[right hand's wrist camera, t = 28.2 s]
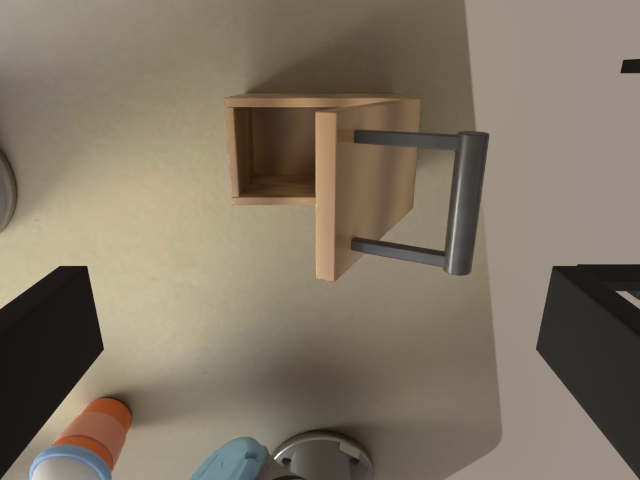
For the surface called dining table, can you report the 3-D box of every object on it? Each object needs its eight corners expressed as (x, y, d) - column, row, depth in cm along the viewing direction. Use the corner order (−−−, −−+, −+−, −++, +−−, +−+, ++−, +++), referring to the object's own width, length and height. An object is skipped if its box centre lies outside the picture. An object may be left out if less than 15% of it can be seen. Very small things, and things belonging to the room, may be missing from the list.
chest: (249, 179, 49) (231, 205, 39) (244, 93, 46) (223, 97, 36) (388, 179, 49) (405, 205, 39) (393, 93, 46) (412, 97, 36)
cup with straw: (140, 390, 59) (68, 515, 42) (144, 442, 62) (79, 578, 45) (72, 386, 59) (-28, 511, 42) (80, 438, 62) (-10, 574, 45)
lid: (315, 278, 25) (460, 309, 22) (314, 111, 22) (484, 117, 18) (399, 206, 39) (496, 218, 35) (407, 98, 36) (513, 100, 32)
